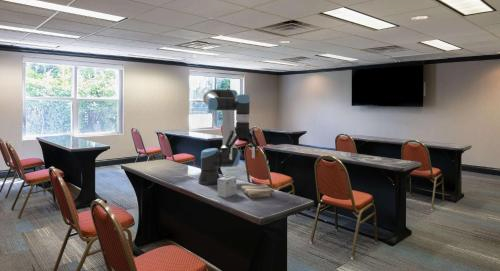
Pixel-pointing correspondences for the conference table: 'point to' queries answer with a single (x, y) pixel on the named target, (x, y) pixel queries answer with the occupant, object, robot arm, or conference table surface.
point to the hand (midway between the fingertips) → (242, 158)
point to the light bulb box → (226, 186)
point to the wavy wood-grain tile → (257, 190)
